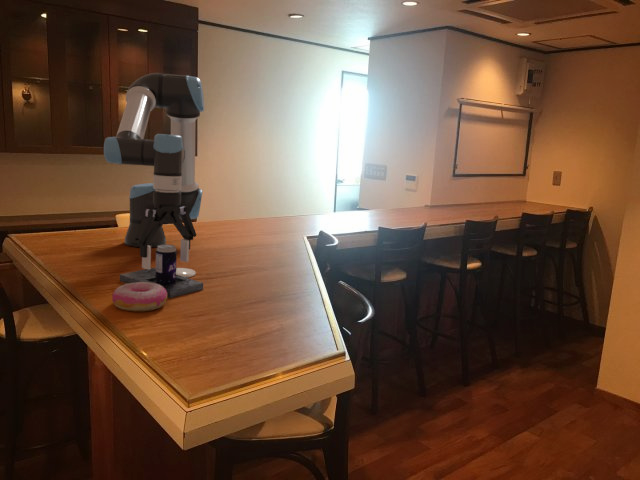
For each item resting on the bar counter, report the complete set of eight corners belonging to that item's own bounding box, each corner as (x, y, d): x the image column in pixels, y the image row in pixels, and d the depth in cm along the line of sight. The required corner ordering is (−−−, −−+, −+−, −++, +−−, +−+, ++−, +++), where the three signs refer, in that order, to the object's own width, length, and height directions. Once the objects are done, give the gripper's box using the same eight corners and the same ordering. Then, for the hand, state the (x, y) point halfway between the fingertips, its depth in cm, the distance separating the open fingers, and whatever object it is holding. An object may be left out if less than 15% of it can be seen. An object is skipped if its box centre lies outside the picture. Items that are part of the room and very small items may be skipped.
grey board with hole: (119, 281, 153) (119, 274, 153) (153, 273, 163) (153, 267, 163) (170, 298, 141) (170, 291, 141) (203, 289, 151) (203, 282, 151)
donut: (125, 295, 141) (125, 277, 140) (174, 299, 141) (174, 281, 140) (103, 312, 128) (103, 292, 127) (157, 316, 128) (157, 296, 127)
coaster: (155, 273, 164) (155, 271, 164) (180, 268, 172) (180, 266, 172) (177, 280, 158) (177, 278, 158) (202, 274, 167) (202, 272, 167)
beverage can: (170, 290, 148) (170, 249, 146) (151, 288, 149) (152, 247, 147) (179, 285, 153) (180, 245, 151) (161, 283, 154) (162, 243, 152)
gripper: (138, 194, 133) (137, 274, 137) (209, 190, 154) (207, 260, 158) (119, 190, 137) (119, 269, 141) (192, 187, 158) (190, 256, 162)
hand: (166, 264), depth 150 cm, fingers open, 13 cm apart
